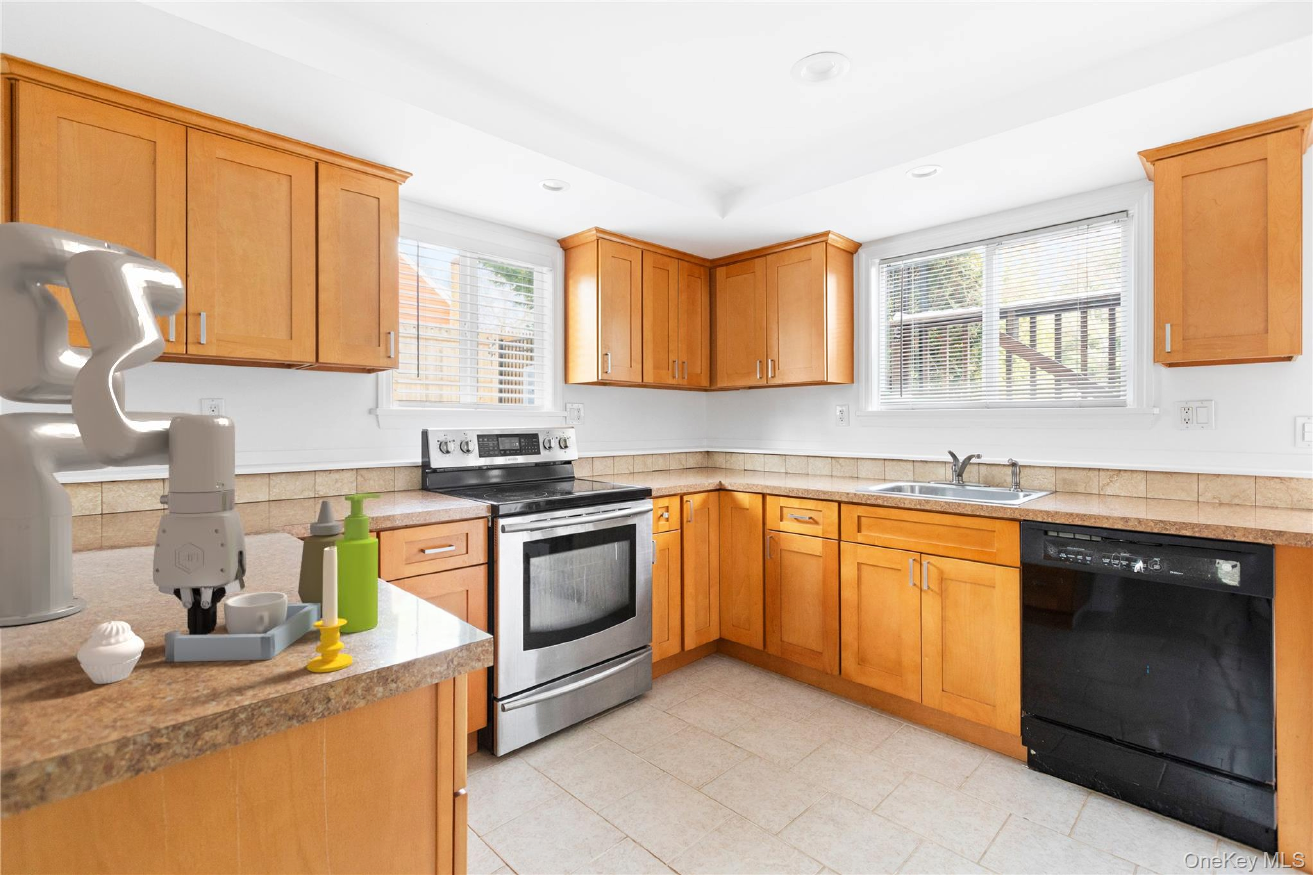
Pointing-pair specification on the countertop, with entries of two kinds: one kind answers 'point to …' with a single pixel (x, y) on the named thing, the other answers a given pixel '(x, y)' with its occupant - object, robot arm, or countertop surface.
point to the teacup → (255, 612)
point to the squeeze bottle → (317, 554)
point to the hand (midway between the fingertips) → (202, 633)
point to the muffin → (110, 652)
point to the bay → (244, 639)
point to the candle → (329, 621)
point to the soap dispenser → (357, 570)
